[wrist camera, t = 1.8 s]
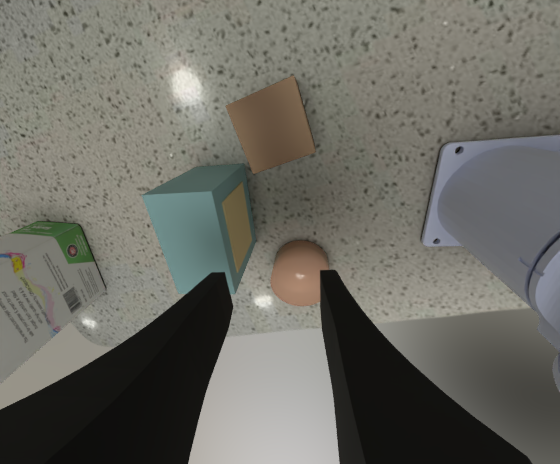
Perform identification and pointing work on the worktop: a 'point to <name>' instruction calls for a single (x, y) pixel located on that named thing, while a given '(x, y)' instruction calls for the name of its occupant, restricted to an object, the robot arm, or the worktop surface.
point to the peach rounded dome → (298, 273)
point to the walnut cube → (272, 125)
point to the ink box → (42, 287)
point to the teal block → (204, 224)
